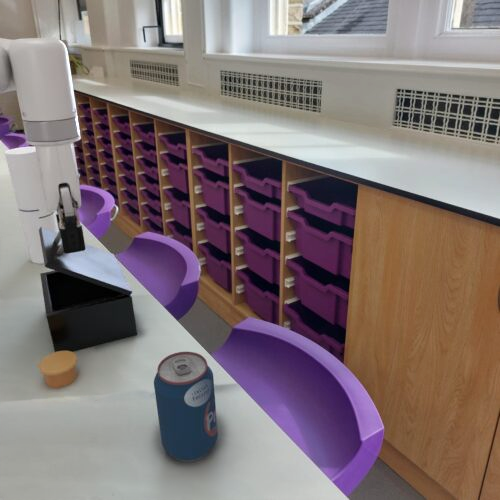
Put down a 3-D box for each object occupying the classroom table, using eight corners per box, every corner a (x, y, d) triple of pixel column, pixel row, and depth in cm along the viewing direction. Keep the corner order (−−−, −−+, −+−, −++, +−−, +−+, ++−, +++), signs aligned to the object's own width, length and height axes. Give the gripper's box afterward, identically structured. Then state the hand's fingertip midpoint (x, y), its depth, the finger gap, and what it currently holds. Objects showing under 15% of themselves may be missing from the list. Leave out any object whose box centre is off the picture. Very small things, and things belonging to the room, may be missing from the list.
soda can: (225, 456, 59) (219, 377, 54) (168, 473, 57) (157, 392, 52) (209, 417, 65) (203, 343, 60) (158, 431, 63) (147, 355, 58)
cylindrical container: (32, 253, 115) (7, 148, 105) (63, 248, 117) (42, 145, 107) (29, 265, 109) (2, 155, 99) (63, 260, 111) (40, 152, 101)
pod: (40, 399, 69) (33, 374, 67) (50, 376, 74) (44, 351, 72) (77, 397, 69) (71, 371, 68) (85, 373, 74) (80, 349, 72)
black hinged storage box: (57, 364, 76) (46, 316, 73) (50, 316, 90) (40, 273, 86) (138, 342, 81) (131, 296, 77) (120, 299, 94) (113, 258, 91)
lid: (44, 267, 70) (60, 235, 69) (38, 230, 83) (51, 203, 82) (130, 296, 77) (145, 268, 77) (112, 258, 90) (125, 234, 90)
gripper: (23, 123, 77) (44, 229, 84) (26, 144, 62) (51, 270, 70) (73, 119, 79) (89, 222, 87) (87, 138, 65) (105, 260, 73)
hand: (72, 242), depth 78 cm, fingers closed on lid, 6 cm apart
